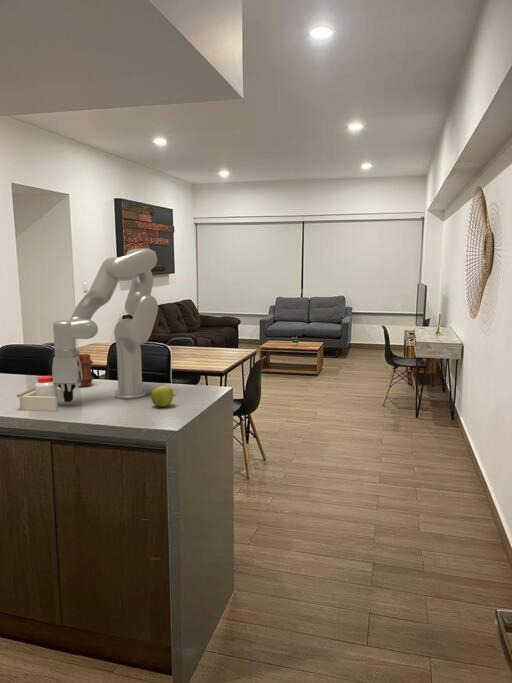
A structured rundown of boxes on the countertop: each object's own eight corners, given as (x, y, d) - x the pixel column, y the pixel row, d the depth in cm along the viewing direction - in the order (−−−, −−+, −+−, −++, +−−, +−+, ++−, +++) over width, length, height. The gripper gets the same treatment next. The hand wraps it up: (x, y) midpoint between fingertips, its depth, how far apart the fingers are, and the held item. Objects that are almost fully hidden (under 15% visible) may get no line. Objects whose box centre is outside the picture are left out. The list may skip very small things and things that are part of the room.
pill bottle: (49, 402, 198) (47, 374, 197) (62, 404, 195) (60, 376, 193) (31, 406, 192) (29, 378, 190) (45, 409, 188) (43, 380, 186)
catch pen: (73, 401, 200) (72, 387, 199) (55, 411, 186) (54, 396, 185) (38, 400, 201) (37, 386, 201) (17, 409, 187) (16, 395, 186)
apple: (178, 407, 191) (178, 386, 190) (155, 410, 186) (154, 389, 185) (171, 402, 198) (170, 382, 196) (148, 405, 193) (148, 385, 192)
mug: (98, 385, 228) (96, 352, 225) (83, 388, 221) (81, 354, 219) (76, 381, 235) (74, 349, 233) (61, 384, 228) (59, 351, 226)
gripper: (89, 352, 193) (91, 399, 195) (51, 351, 195) (55, 398, 197) (79, 355, 185) (82, 404, 188) (41, 354, 187) (44, 403, 190)
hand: (68, 401), depth 193 cm, fingers closed
